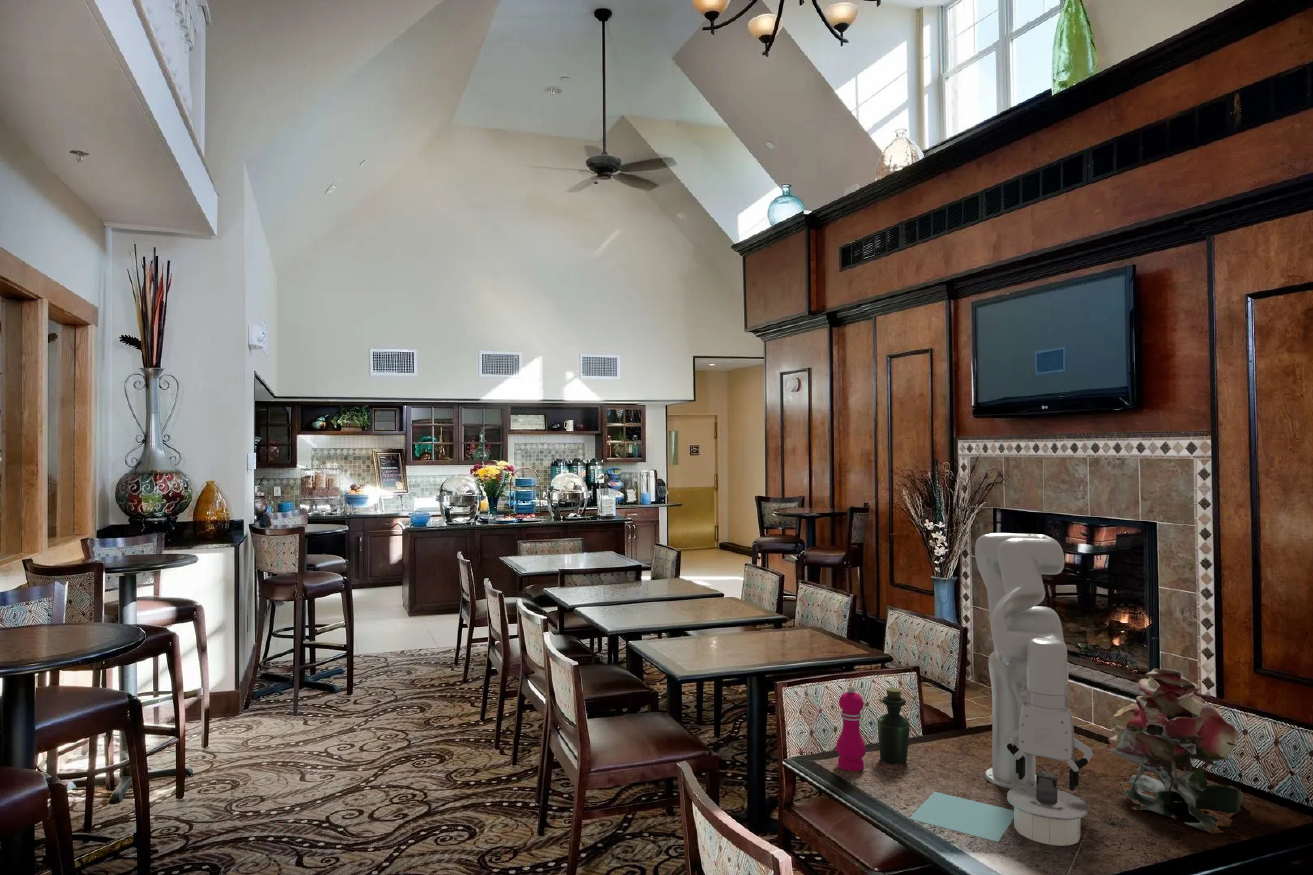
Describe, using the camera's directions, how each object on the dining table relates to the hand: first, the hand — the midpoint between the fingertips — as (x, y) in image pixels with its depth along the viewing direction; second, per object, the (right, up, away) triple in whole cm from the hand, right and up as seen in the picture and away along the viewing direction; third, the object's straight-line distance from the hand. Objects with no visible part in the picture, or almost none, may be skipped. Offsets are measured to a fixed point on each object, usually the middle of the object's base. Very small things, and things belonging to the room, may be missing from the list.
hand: (1046, 782), depth 172 cm
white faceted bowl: (0, -10, 0) cm, 10 cm away
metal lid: (0, -4, 0) cm, 4 cm away
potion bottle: (-20, -11, +41) cm, 47 cm away
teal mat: (-14, -10, +7) cm, 19 cm away
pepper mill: (-32, -11, +36) cm, 49 cm away
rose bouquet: (+36, -12, +17) cm, 42 cm away
